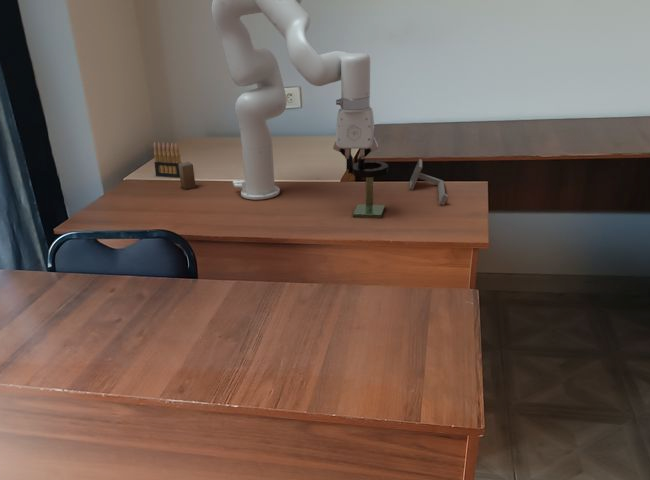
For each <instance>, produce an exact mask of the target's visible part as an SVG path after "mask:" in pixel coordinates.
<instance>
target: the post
mask: <svg viewBox="0 0 650 480" xmlns="http://www.w3.org/2000/svg"><path fill="white" fill-rule="evenodd" d="M385 209H386V205H385V204H374V177H371V178H369V177H365V204H357V205H356V207H355V209H354V211H353V213H352V217H353V218H368V219H369V218H372V219H381V218H382V217H383V214H384V212H385Z"/></svg>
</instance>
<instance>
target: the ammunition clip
mask: <svg viewBox="0 0 650 480" xmlns="http://www.w3.org/2000/svg"><path fill="white" fill-rule="evenodd" d="M153 157H154V163H153V164H154V170H155V176H156V177H166V178H179V179H180V174H179V166H178V164H180V163H183V162H182V161H181V154H180V149H179V145H178V143H177V142H175V143H173V142H171V143H170V144H169V142H168V141H167V142H166V144H165V142H164V141H162V145H161V143H160V141H158V142H157V143H156V142H155V141H154V142H153Z"/></svg>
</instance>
